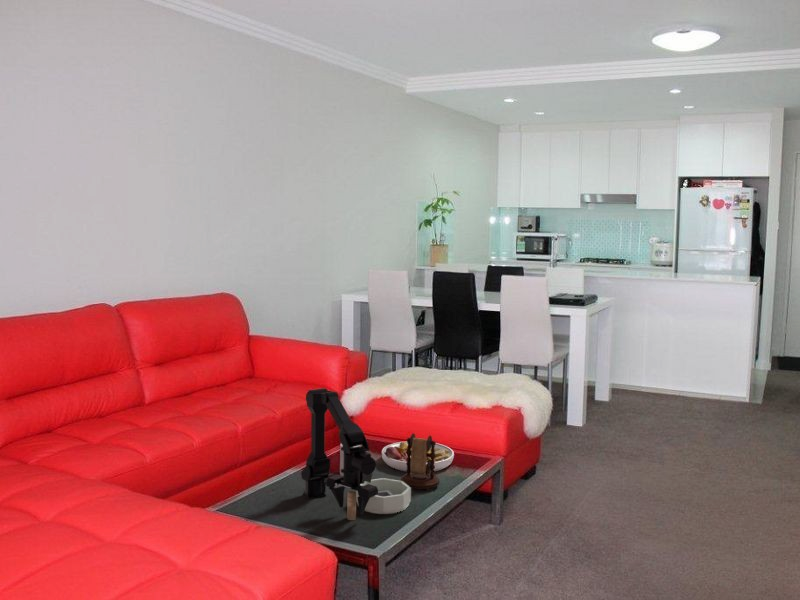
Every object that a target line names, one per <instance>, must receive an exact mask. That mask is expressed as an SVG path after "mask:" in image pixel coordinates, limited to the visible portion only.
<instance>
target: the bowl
mask: <svg viewBox="0 0 800 600" xmlns="http://www.w3.org/2000/svg"><path fill="white" fill-rule="evenodd" d="M407 443H408V442H407V440H406V441H399V442H394V443H391V444H388V445H385V446H384V447H383V448H382V449H381V457H382V460H383V462H384V463H385V464H386V465H387V466H388V467H391V468H393V469H394V468H395V469H396V470H397V471H401V472H406V471H407V465H406V463H407V457H408V456H407V454H406V451H407V450H408V449H407V446H408V444H407ZM431 446H432V445H431ZM431 449H432V447H431V448H430V450H429V452H427V453H429V454H430V453H432V452H431ZM434 449H435V452H434V453H435V454H436V456H435V459H434V462H435V463H434V466H435V469H433V470H434V472H438V471H441V470H444V469H446V468H447V467H449V466H450V465H451V464H452V462H453V460H454V457H455V453H454V452H455V451H454V450H453V449H452V448H450V447H448V446H447V445H444V444H440V443H437V442H436V444H435V447H434ZM410 450H411V449H410ZM410 458H411V456H410ZM429 459H431V458H430V456H429V457H427V456H426V464H427V462H428V460H429ZM430 473H431V471H430Z"/></svg>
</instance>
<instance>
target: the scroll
mask: <svg viewBox="0 0 800 600" xmlns="http://www.w3.org/2000/svg"><path fill="white" fill-rule="evenodd" d="M406 441H407V442H408V443H407V444H408V446H407V449H408V450H407V451H406V454H407V456H408V457H407V463H406V465H407V471H405V472H406V473H405V474H403V475H402V476H401V477H400V481H403V482H404V483H405V484H407V485H408V486H409V487H410V488H411V489H418V490H419V489H421V490H422V489H424V490H425V489H426V491H427V492H429V491H430V489H431V488H436V487H437V486H439V484H440V478H439V477H438V476H437V475H435V471H434V470H433V469H435V466H434V463H435V462H434V459H435V456H436V454H435V453H434V452H435V449H434V447H435V444H436V443H437V442H436V441H435V440H433V438H432V435H428V437H427V438H421V437H420V438H419V437H416V434H415V433H414V432H413V433H411V435H410V437H407V438H406ZM431 445H432V446H431ZM431 447H432V449H431V452H432V453H430V454H429V453H427V452H429V450H430V448H431ZM410 449H411V450H410ZM410 456H411V458H410ZM426 456H427V457H429V456H430V458H431V459H429V460H428V462H427V464H426ZM430 471H431V472H430ZM433 471H434V472H433Z"/></svg>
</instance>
